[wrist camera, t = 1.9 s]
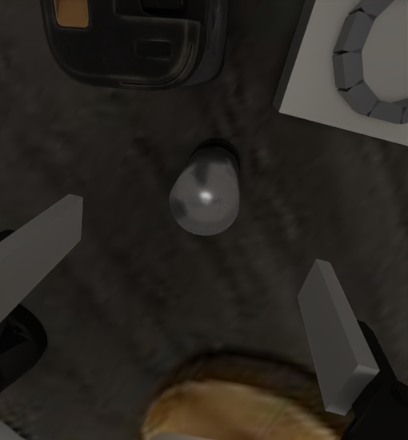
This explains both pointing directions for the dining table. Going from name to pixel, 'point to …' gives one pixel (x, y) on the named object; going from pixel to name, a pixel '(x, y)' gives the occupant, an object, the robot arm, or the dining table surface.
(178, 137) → the dining table surface
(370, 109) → the grey base with ring
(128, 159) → the dining table surface
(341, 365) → the robot arm
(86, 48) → the electronic device
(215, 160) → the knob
